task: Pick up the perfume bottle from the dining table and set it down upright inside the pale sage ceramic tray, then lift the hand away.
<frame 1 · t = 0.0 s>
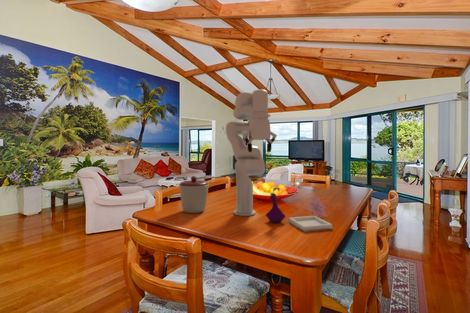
hand: (259, 151, 124), 37 cm above the table, tool pointing down, fingers open, 9 cm apart
canister: (194, 211, 153), on the table
lily: (316, 216, 145), on the table
tray: (309, 225, 128), on the table
perfume bottle: (275, 222, 134), on the table
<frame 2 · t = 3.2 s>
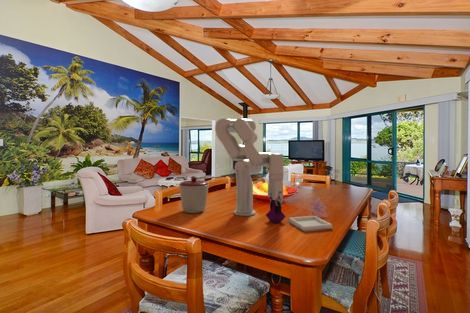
hand: (275, 211, 133), 6 cm above the table, tool pointing down, fingers closed on perfume bottle, 5 cm apart
perfume bottle: (275, 222, 134), on the table, touching gripper
everything else where it was.
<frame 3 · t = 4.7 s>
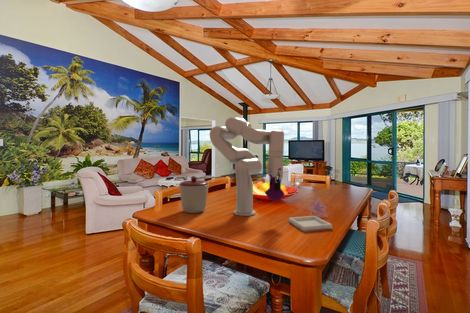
hand: (274, 188, 133), 17 cm above the table, tool pointing down, fingers closed on perfume bottle, 5 cm apart
perfume bottle: (274, 199, 134), point 11 cm above the table, touching gripper
everything else where it was.
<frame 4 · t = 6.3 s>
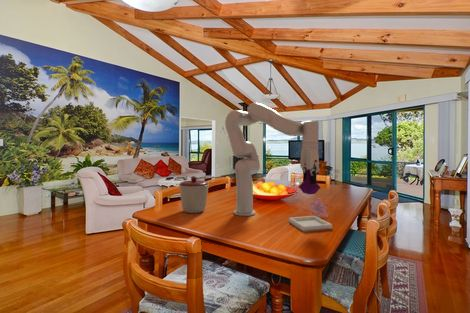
hand: (309, 182, 127), 22 cm above the table, tool pointing down, fingers closed on perfume bottle, 5 cm apart
perfume bottle: (309, 193, 127), point 16 cm above the table, touching gripper
everything else where it was.
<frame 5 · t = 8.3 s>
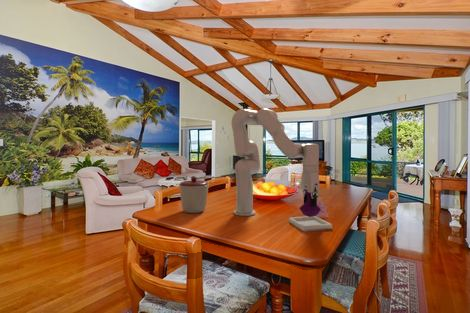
hand: (310, 204, 127), 11 cm above the table, tool pointing down, fingers closed on perfume bottle, 5 cm apart
perfume bottle: (309, 215, 127), point 5 cm above the table, touching gripper
everything else where it was.
when the fingers open (8 cm above the table, at t = 9.7 s): perfume bottle drops 1 cm, resting on tray.
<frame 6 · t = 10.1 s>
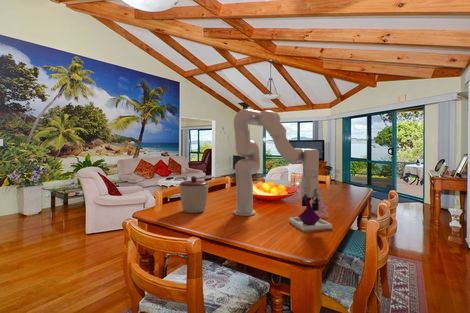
hand: (309, 208, 127), 9 cm above the table, tool pointing down, fingers open, 9 cm apart
perfume bottle: (309, 224, 128), point 1 cm above the table, touching tray
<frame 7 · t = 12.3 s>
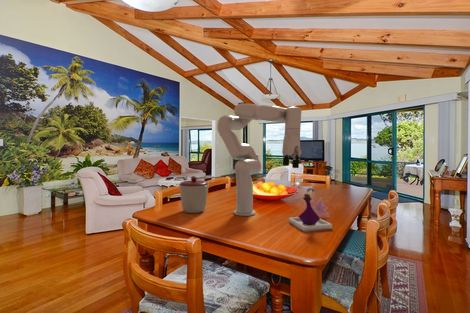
hand: (290, 166, 128), 29 cm above the table, tool pointing down, fingers open, 9 cm apart
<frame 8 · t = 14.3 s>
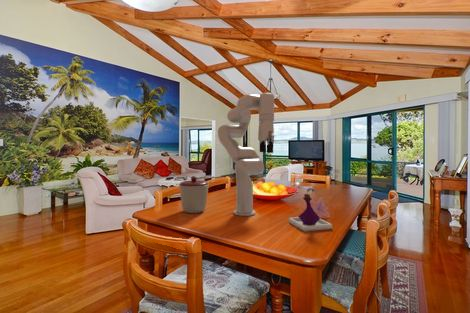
hand: (266, 152, 129), 36 cm above the table, tool pointing down, fingers open, 9 cm apart
at the end: perfume bottle inside the target area on the tray (0.2 cm from its centre), point 0.6 cm above the tray's base; perfume bottle tilted 0°; the gripper is holding nothing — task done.
